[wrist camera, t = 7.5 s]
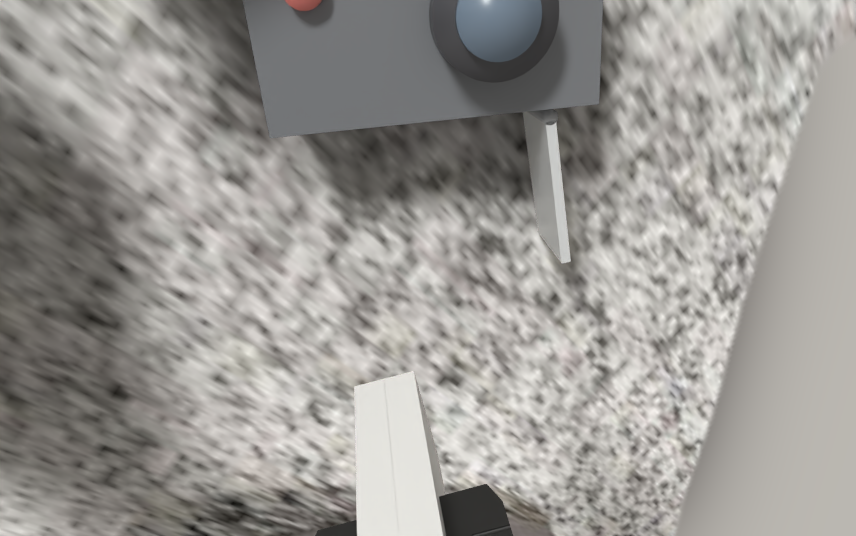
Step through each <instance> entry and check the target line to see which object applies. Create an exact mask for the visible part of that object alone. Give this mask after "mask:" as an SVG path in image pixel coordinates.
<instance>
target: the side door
mask: <svg viewBox="0 0 856 536" xmlns="http://www.w3.org/2000/svg"><path fill="white" fill-rule="evenodd" d="M523 119H524V127H525V135H526V142H527V150H528V158H529V166H530V174H531V181H532V189H533V197H534V205H535V213H536V220H537V228H538V233H539V234H540V236H541V237H542V238H543V240H544V241H545V242H546V244H547V245H548V246H549V248H550V249H551V250H552V252H553V253H554V254H555V256H556V257H557V258H558V260H559V261H560V262H561V264H562V263H566V262H571V259H570V249H569V240H568V230H567V221H566V211H565V202H564V192H563V183H562V173H561V163H560V154H559V144H558V135H557V125H556V122H557V120H558V113H557V112H556V111H555V110H554V109H547V110H538V111H528V112H523Z"/></svg>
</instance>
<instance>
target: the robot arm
mask: <svg viewBox="0 0 856 536" xmlns="http://www.w3.org/2000/svg"><path fill="white" fill-rule="evenodd" d="M354 393H355V449H356V505H357V520H355V521H351V522H347V523H344V524H340V525H336V526H332V527H329V528H325V529H321V530H318V531H317V533H316V535H315V536H513V534H512V531H511V528H510V524H509V521H508V518H507V514H506V511H505V508H504V505H503V501H502V500H501V499H500V498H499V497H498V496H497V495H496V494H495V493H494V492H493V490H492V489H491V488H490V487H489V486H488V485H487V484H484V485H481V486H477V487H473V488H469V489H466V490H462V491H458V492H454V493H451V494H447V495H446V494H445V489H444V484H443V479H442V474H441V469H440V464H439V459H438V454H437V450H436V447H435V443H434V440H433V436H432V433H431V429H430V426H429V422H428V419H427V415H426V412H425V408H424V405H423V401H422V398H421V394H420V391H419V387H418V384H417V380H416V377H415V374H414V371H412V372H408V373H404V374H400V375H397V376H393V377H389V378H385V379H381V380H378V381H374V382H370V383H366V384H362V385H359V386H355V387H354Z"/></svg>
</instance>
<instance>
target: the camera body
mask: <svg viewBox="0 0 856 536" xmlns="http://www.w3.org/2000/svg"><path fill="white" fill-rule="evenodd" d="M243 5H244V10H245V15H246V20H247V25H248V30H249V35H250V40H251V45H252V50H253V55H254V60H255V65H256V70H257V75H258V81H259V86H260V91H261V96H262V101H263V106H264V111H265V116H266V121H267V126H268V131H269V136H270V138H277V137H287V136H296V135H306V134H316V133H325V132H335V131H345V130H354V129H364V128H373V127H383V126H393V125H402V124H412V123H422V122H431V121H441V120H451V119H460V118H470V117H480V116H489V115H499V114H509V113H518V112H528V111H538V110H547V109H557V108H567V107H576V106H586V105H596V104H599V94H600V67H601V40H602V13H603V0H243Z"/></svg>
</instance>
